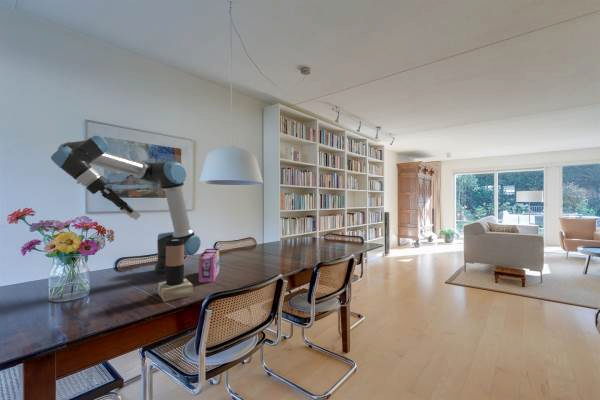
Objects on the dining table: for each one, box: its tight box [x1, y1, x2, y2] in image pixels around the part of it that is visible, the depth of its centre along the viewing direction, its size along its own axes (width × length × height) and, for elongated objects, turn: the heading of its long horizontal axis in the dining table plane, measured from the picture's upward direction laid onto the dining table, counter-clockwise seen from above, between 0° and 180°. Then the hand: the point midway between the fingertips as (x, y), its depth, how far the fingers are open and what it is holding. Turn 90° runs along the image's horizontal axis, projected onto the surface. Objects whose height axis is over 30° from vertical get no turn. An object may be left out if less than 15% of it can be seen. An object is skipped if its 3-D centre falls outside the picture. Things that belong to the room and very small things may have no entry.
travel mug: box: [165, 238, 185, 286], centre depth 127 cm, size 8×8×20 cm
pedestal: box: [157, 277, 194, 302], centre depth 127 cm, size 12×12×5 cm
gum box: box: [198, 248, 220, 283], centre depth 156 cm, size 24×8×14 cm, turn 9°
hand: (136, 216), depth 123 cm, fingers open, 13 cm apart
